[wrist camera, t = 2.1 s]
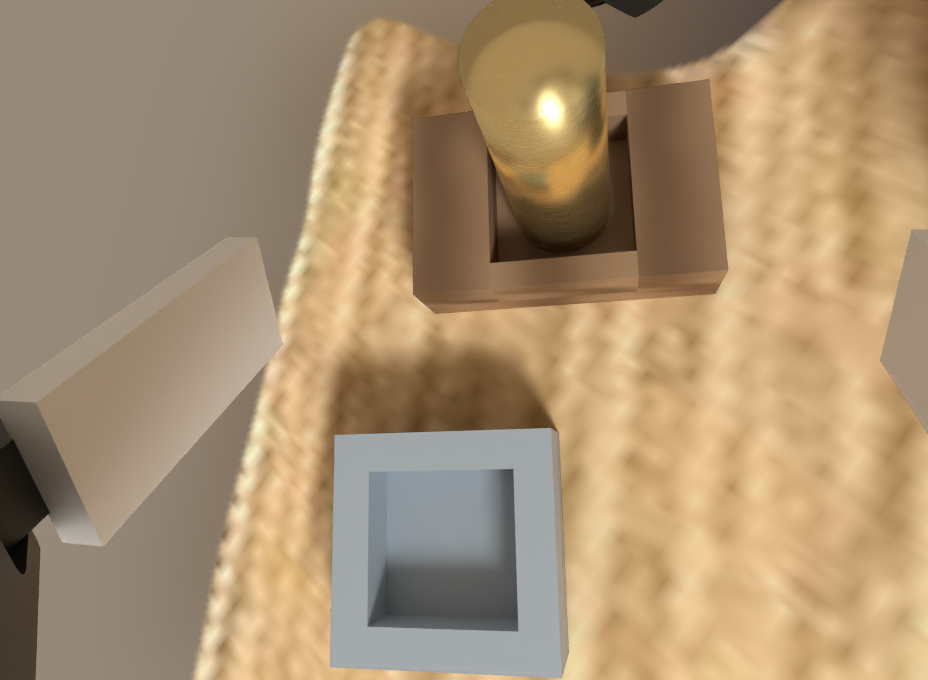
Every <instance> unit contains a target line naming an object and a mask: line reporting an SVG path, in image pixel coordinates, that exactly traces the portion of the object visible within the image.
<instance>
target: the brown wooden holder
mask: <svg viewBox="0 0 928 680" xmlns="http://www.w3.org/2000/svg"><path fill="white" fill-rule="evenodd" d="M607 125H608V159H609V193H610V213H609V218H608V221H607V224H606V226H605V228H604V229H603V231H602V232H601V234H600V235H599V236H598V237H597V238H596V239H595V240H594V241H593V242H592V243H591V244H589V245H588V246H586V247H584V248H582V249H580V250H577V251H574V252H570V253H551V252H547V251H544V250H542V249H539V248H537V247H536V246H534V245H533V244H532V243H531V242H529V241H528V240H527V238H526V237H525V236H524V235H523V233H522V231H521V229H520V227H519V225H518V222H517V220H516V217H515V215H514V212H513V210H512V207H511V205H510V202H509V200H508V197H507V195H506V192H505V190H504V187H503V185H502V182H501V180H500V177H499V175H498V172H497V170H496V167H495V165H494V162H493V160H492V157H491V155H490V152H489V150H488V147H487V145H486V142H485V140H484V137H483V135H482V132H481V130H480V127H479V125H478V122H477V120H476V117H475V115H474V112H473V111H470V112H463V113H455V114H448V115H441V116H433V117H426V118H419V119H413V295H414V296H416V297H417V298H418V299H419V300H420V301H421V302H422V303H424V304H425V305H426V306H427V307H428V308H429V309H431V310H432V311H433V312H434V313H435V314H437V313H451V312H465V311H480V310H494V309H508V308H522V307H536V306H550V305H564V304H578V303H592V302H607V301H621V300H635V299H649V298H663V297H677V296H691V295H705V294H715V293H716V291H717V290H718V288H719V286H720V284H721V282H722V280H723V279H724V277H725V275H726V273H727V271H728V262H727V252H726V242H725V232H724V222H723V212H722V202H721V192H720V182H719V171H718V161H717V151H716V141H715V131H714V121H713V111H712V101H711V91H710V81H709V79H706V80H699V81H692V82H684V83H677V84H669V85H662V86H655V87H647V88H640V89H633V90H625V91H618V92H610V93H607Z"/></svg>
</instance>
